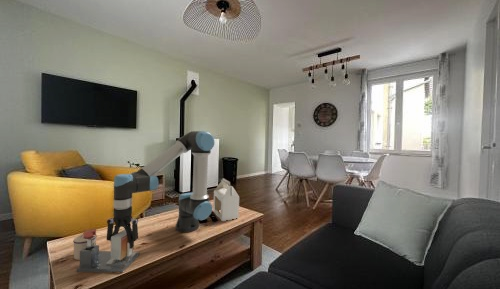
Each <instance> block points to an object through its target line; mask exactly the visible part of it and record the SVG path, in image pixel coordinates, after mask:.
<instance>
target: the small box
mask: <svg viewBox="0 0 500 289" xmlns="http://www.w3.org/2000/svg"><path fill="white" fill-rule="evenodd" d="M128 242H129V239H128V236H127V233H126V230H125V229H123V230H121V231H119V232H118V233H117V234H116V235H114V236H112V237H111V241H110V251H111V259H117V260H122V259H123V258H124V257H126V256H127V243H128ZM132 252H134V247H133V248H132Z"/></svg>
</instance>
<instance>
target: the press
mask: <svg viewBox="0 0 500 289" xmlns="http://www.w3.org/2000/svg"><path fill="white" fill-rule="evenodd" d="M139 256H140V251H133V252H132V254H131V255H130V256H126V257H124V258H123V259H122V260H117V259H111V250H110V251H109V250H100V245H97V244H96V245H92V249H91V250H87V246H86V247H85V248H84V249H82V250H81V251H80V260H79V266H78V267H76V272H77V273H106V274H107V272H108V273H109V272H123V271H124V270H125V269H126V268H127V267H128V268H129V267H130V265H131V264H132V263H134V261H135V260H136V259H138V257H139ZM126 270H127V269H126ZM126 270H125V271H126ZM125 271H124V272H125ZM124 272H123V273H124Z"/></svg>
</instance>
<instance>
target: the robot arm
mask: <svg viewBox="0 0 500 289" xmlns="http://www.w3.org/2000/svg"><path fill="white" fill-rule="evenodd" d="M214 147H215V138H214V135H212V134H211V132H210V131H205V130H198V131H197V130H195V131H194V130H192V131H189V132H187V133H186V134H184V135H183V136H181V137H180V138H178V139H177V140H176V141H175V143H174V144H173V145H172V146H170V147H169V148H167V149H166V150H165V151H163V152H162V153H161V154H159V155H158V156H157V157H155V158H153V159H152V160H151V161H150V162H148V163H147V164H146V165H144V166H142V168H140V169H138V170H137V171H133V172H131V173H121V174H117V175H115V176H114V180H113V213H112V214H113V218H112V217H111V218H109V219H107V220H106V224H107V229H106V241H107V242H108V241H109V242H111V237H112V236H114V235H116V234H117V233H119V232H120V230H121V227H122V228H123V230H126V233H127V236H128V239H129V242H128V243H127V256H130V255H131V254H132V248H133V249H134V246H135V242H136V241H137V240H138V239H139V229H138V222H139V219H138V218H136V219H135V218H133V216H132V214H133V194H137V193H145V192H151V191H156V190H157V189H158V188H159V178H158V176H157V175H156V174H158V173H159V172H160V171H162V170H163V169H165V168H166V167H167V166H168V165H170V164H171V163H172V162H174V161H175V160H176V159H177V158H178V157H180V156H181V155H182V154H185V153H186V154H187V153H188V152H189V151H191V152H190V153H191V154H192V155H193V170H192V171H193V172H192V174H193V175H192V192H185V193H181V194H180V195H179V196H178V216H177V217H178V218H177V220H176V223H175V230H176V231H177V232H179V233H192V232H194V231H197V230H198V229H199V228H200V222H199V221H203V220H207V219H208V218H209V216H210V215H211V214H212V211H213V205H212V203H211V202H210V195H209V194H208V171H209V170H208V167H209V166H208V165H209V164H208V163H209V155H210V154H211V152H212V150H213V148H214ZM114 224H115V226H114Z"/></svg>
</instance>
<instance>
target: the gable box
mask: <svg viewBox="0 0 500 289" xmlns="http://www.w3.org/2000/svg"><path fill="white" fill-rule="evenodd" d="M219 210H221V213H220V212H219ZM212 211H214V212H213V213H214V214H215V216H217V217H218V219H220V220H221V222H227V221H226V220H228V221H232V219H234V220H237V219H236V218H239V215H240V213H239V212H240V196H239V194H238V193H237V191H236V189H235V188H234V186H232V183H231V181H229V180H227V179H226V178H222V179H220V182H219V183H218V184H217V186H216V188H215V189H214V190H213V205H212Z"/></svg>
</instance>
